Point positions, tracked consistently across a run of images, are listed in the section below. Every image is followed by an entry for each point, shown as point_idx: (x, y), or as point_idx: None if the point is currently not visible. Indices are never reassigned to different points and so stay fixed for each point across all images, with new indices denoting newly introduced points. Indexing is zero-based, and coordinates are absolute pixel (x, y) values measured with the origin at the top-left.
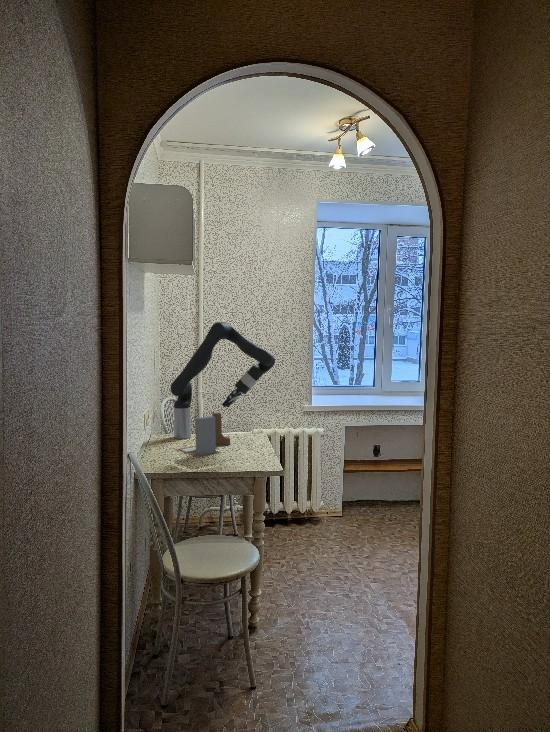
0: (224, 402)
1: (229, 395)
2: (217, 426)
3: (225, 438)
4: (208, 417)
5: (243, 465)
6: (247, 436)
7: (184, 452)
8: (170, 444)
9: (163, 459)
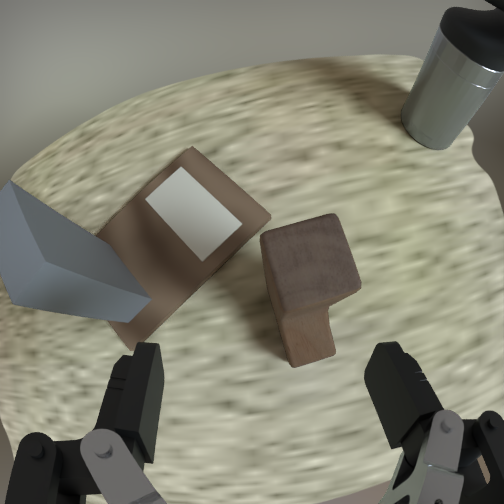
0: (107, 387)
1: (16, 494)
2: (271, 292)
3: (284, 343)
4: (5, 257)
5: (33, 422)
6: (492, 375)
7: (138, 193)
8: (310, 106)
9: (93, 156)
